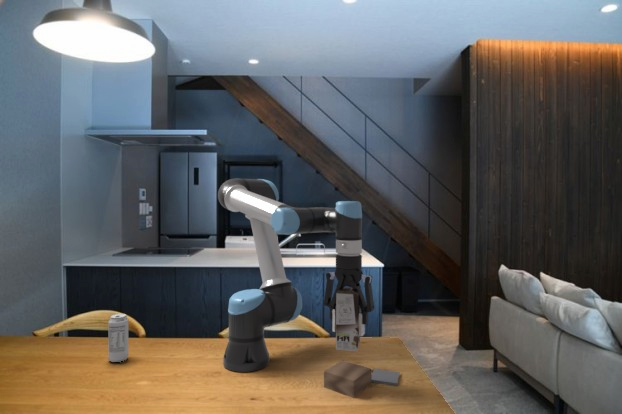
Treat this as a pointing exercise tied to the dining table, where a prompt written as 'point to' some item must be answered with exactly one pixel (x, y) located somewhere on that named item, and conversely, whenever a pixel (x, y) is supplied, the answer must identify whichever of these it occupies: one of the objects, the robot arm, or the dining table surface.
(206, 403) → the dining table surface
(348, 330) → the coffee box
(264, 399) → the dining table surface
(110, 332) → the energy drink can
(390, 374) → the slate coaster
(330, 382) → the walnut block
